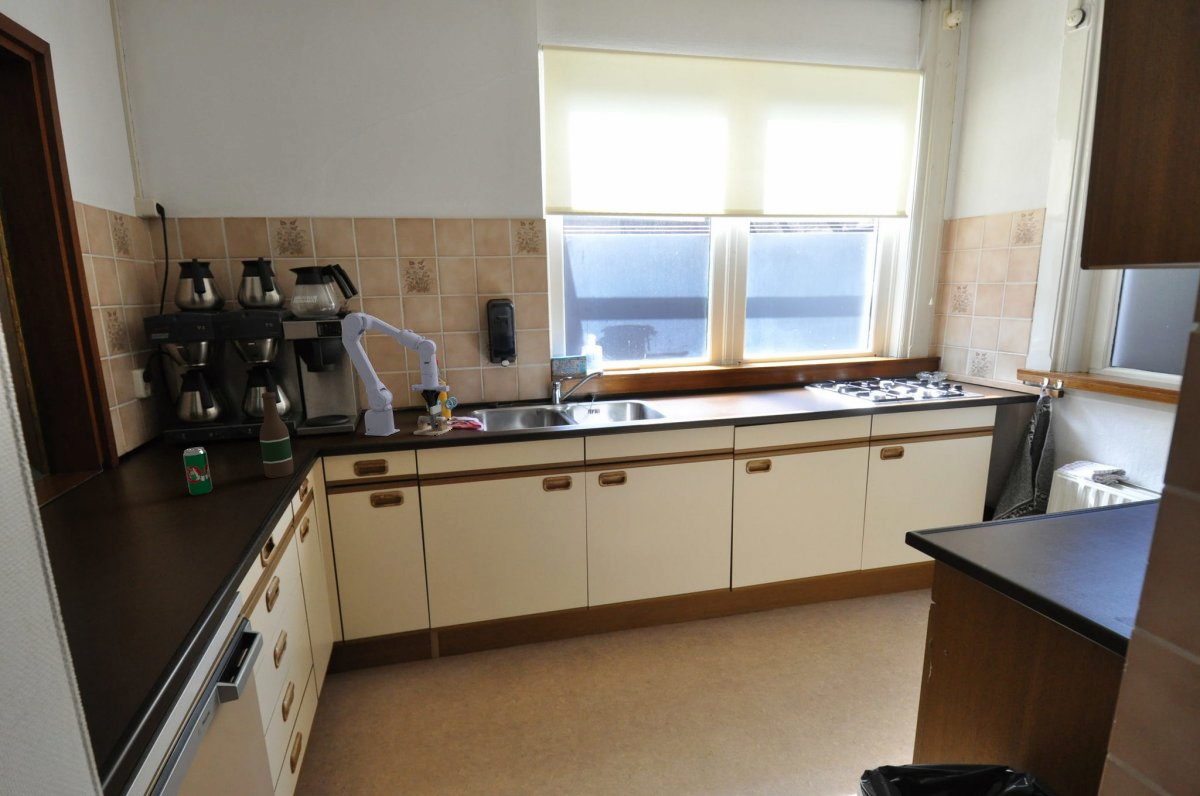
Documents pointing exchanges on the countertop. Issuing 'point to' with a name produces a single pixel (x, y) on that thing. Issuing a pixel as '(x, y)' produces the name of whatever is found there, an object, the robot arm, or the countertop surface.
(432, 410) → the grey bent plate
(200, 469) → the soda can
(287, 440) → the beer bottle
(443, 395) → the yellow blue ringed piece
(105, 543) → the countertop surface
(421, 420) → the pipe rig
